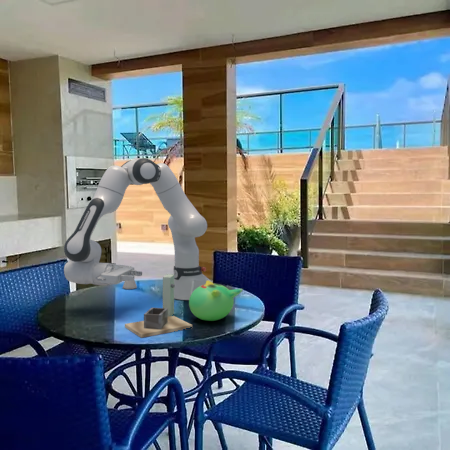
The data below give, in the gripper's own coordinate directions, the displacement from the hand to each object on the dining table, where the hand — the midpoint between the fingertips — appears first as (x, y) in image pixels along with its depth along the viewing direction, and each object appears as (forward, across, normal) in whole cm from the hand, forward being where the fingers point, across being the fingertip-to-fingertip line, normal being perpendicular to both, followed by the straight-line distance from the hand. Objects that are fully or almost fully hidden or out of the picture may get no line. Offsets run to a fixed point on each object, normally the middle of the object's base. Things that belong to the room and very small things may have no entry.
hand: (137, 275), depth 186 cm
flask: (-19, +44, +15) cm, 50 cm away
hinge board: (+13, -15, +15) cm, 25 cm away
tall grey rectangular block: (+13, 0, +15) cm, 20 cm away
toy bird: (+30, -1, +15) cm, 34 cm away
